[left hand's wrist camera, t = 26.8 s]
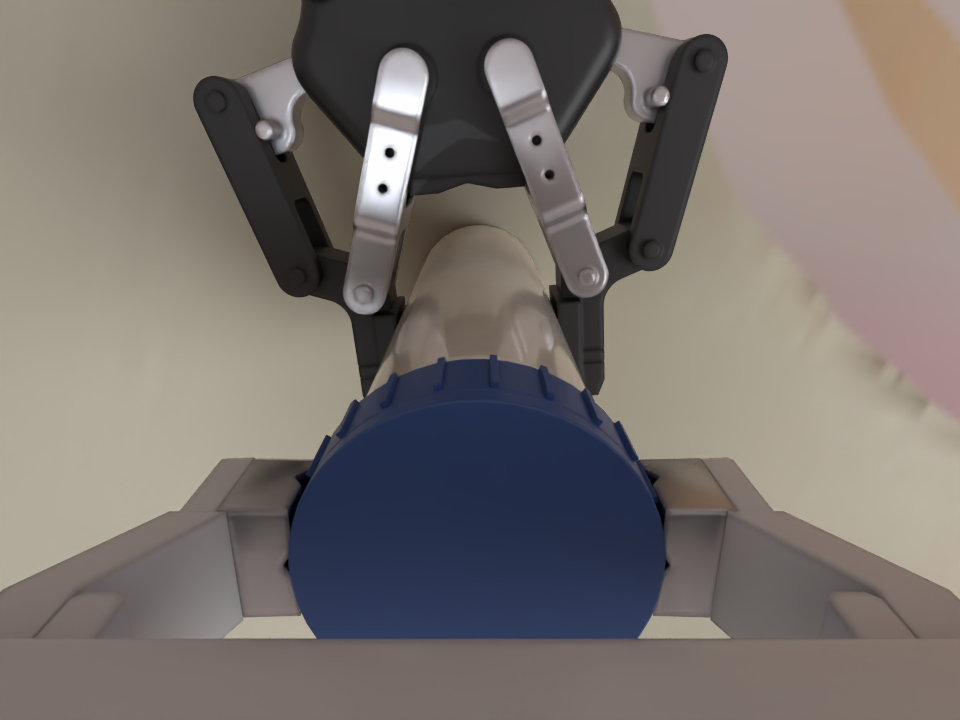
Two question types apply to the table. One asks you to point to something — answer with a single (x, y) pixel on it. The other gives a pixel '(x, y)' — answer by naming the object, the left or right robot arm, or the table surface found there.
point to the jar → (478, 309)
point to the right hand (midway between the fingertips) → (486, 408)
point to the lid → (477, 513)
